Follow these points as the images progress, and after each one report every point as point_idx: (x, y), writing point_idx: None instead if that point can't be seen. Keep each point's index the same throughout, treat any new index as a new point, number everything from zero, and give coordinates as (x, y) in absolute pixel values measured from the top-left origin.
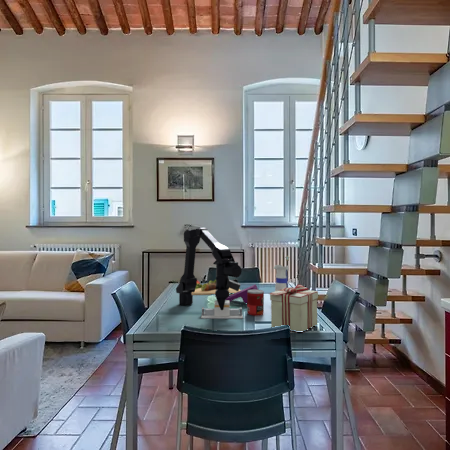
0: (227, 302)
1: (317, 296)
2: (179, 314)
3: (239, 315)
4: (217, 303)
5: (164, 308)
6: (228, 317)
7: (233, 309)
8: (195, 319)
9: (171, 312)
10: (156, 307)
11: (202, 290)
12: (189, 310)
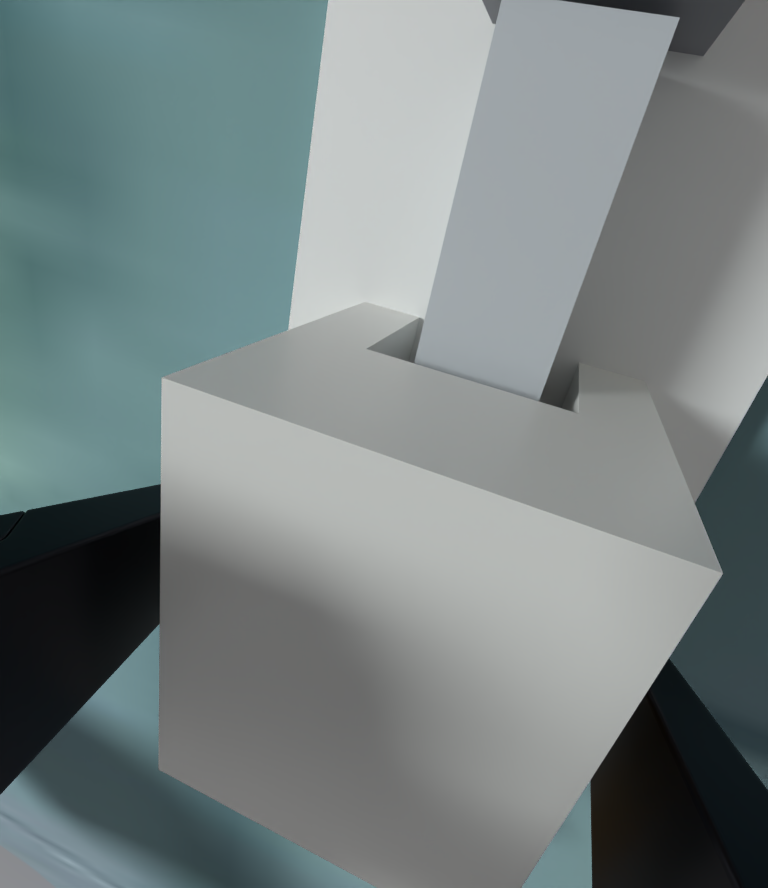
0: (534, 603)
1: None
2: (278, 863)
3: (698, 72)
4: (513, 880)
5: (71, 841)
6: (726, 433)
7: (552, 255)
8: (550, 867)
9: (199, 871)
10: (48, 863)
11: None
12: (124, 721)
